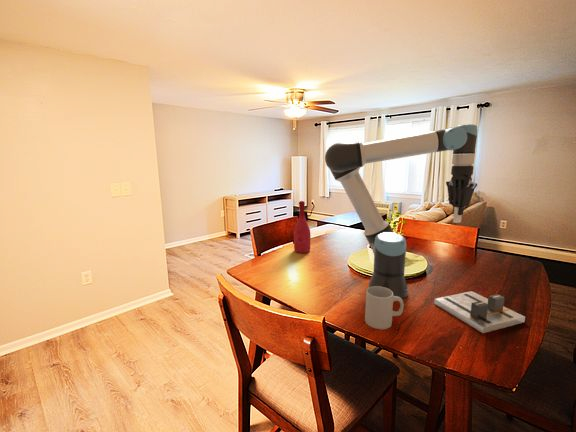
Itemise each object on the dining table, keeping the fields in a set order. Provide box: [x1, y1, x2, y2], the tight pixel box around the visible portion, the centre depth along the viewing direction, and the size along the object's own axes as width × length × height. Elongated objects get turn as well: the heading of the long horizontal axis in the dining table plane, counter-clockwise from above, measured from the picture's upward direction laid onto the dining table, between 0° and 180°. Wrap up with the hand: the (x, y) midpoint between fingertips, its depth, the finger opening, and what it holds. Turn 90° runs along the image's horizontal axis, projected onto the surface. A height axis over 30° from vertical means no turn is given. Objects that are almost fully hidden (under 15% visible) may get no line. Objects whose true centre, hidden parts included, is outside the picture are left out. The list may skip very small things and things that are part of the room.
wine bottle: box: [293, 200, 311, 254], centre depth 163 cm, size 10×10×30 cm
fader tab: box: [487, 294, 505, 312], centre depth 95 cm, size 4×2×5 cm, turn 107°
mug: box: [364, 286, 405, 330], centre depth 92 cm, size 12×8×11 cm
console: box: [433, 291, 526, 334], centre depth 97 cm, size 18×19×7 cm
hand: (457, 222), depth 117 cm, fingers closed
